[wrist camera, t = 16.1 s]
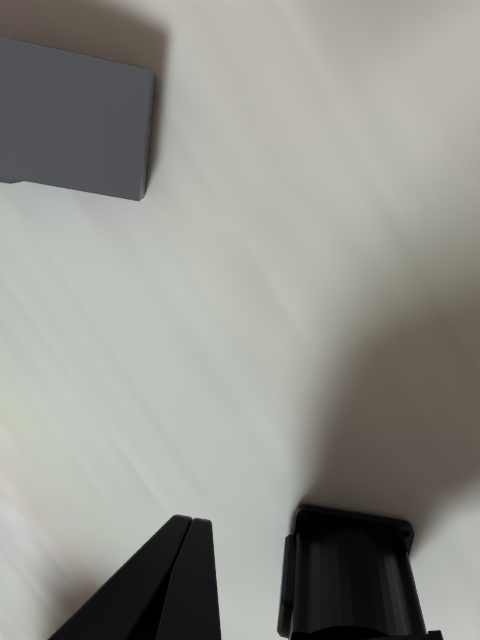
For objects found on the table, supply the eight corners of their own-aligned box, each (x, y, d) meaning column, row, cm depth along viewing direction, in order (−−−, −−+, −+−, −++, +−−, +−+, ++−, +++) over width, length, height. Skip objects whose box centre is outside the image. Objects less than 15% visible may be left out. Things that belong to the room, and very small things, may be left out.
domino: (150, 69, 16) (-74, 19, 15) (139, 201, 18) (-62, 165, 17) (155, 76, 17) (-49, 31, 16) (144, 197, 19) (-40, 164, 18)
